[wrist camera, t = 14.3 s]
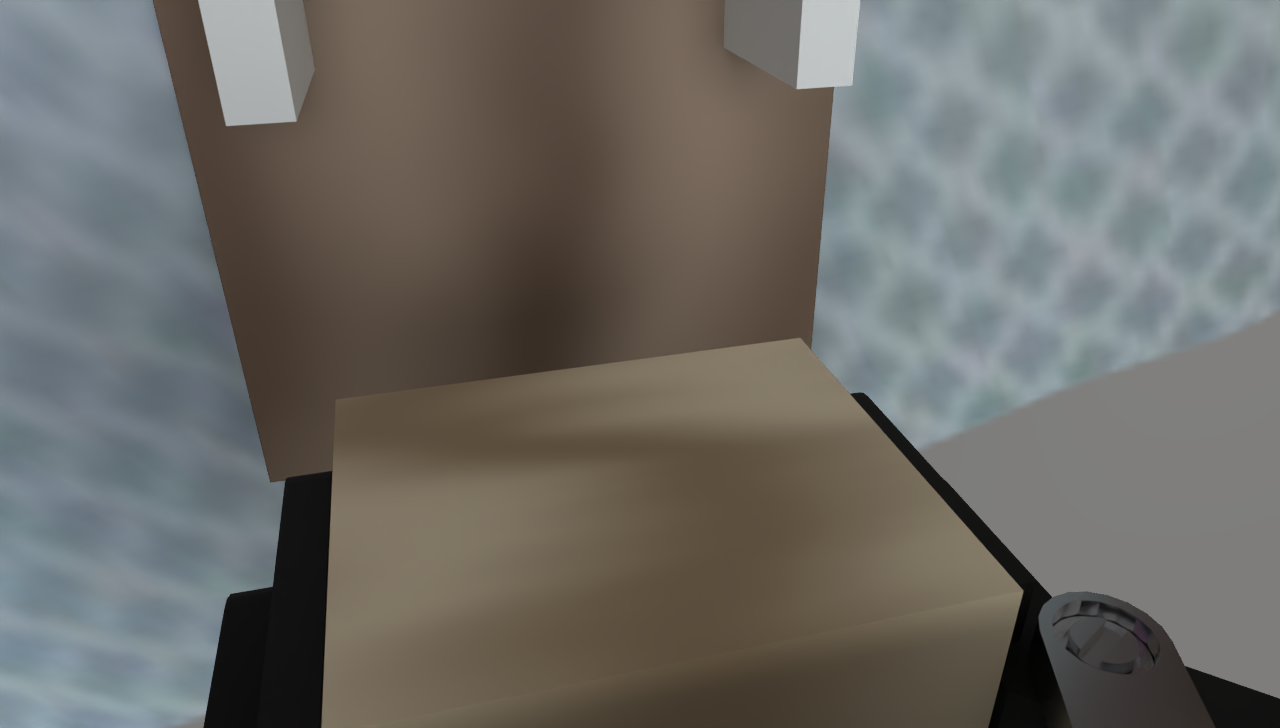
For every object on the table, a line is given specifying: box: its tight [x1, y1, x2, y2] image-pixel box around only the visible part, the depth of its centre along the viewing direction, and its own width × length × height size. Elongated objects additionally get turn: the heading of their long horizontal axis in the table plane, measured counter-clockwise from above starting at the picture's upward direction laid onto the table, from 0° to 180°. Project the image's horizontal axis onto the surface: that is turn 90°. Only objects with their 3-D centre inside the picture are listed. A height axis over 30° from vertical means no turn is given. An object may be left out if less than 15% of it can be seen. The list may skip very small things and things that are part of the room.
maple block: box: [321, 338, 1023, 728], centre depth 11 cm, size 6×7×5 cm
